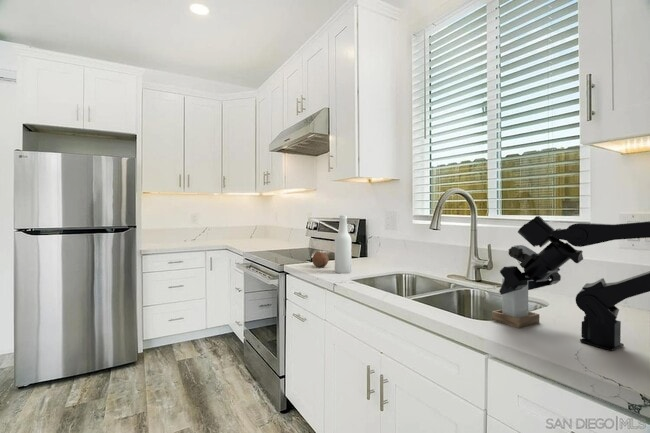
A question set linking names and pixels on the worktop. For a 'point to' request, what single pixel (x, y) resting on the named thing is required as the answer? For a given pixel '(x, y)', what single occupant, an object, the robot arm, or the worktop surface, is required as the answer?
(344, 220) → the alcohol
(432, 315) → the worktop surface
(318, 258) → the onion
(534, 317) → the walnut tray
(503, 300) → the skincare box
